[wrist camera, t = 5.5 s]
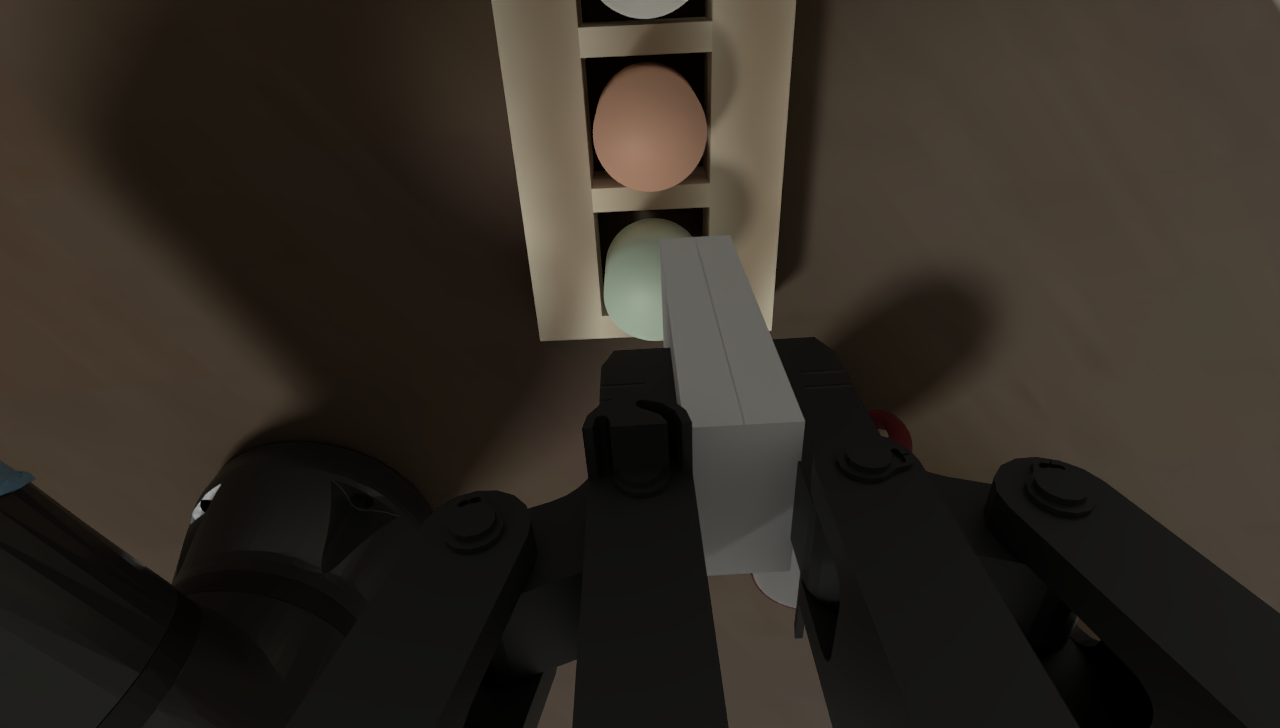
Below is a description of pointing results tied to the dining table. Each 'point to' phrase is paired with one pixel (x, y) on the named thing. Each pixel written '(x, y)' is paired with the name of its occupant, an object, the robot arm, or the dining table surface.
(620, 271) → the button sage
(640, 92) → the button terracotta
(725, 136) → the button board
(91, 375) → the dining table surface
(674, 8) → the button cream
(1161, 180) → the dining table surface
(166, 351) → the dining table surface
